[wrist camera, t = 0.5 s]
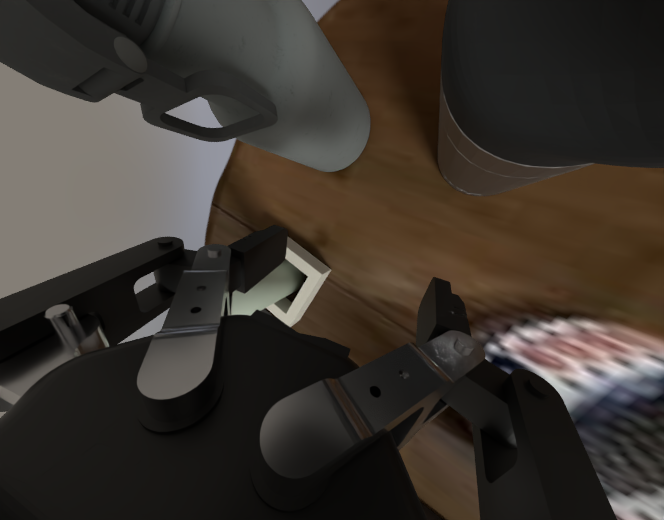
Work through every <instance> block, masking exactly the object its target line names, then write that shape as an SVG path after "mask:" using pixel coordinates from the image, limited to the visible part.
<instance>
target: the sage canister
mask: <svg viewBox="0 0 664 520" xmlns="http://www.w3.org/2000/svg"><path fill="white" fill-rule="evenodd" d="M303 282H304V273H303V272H302V271H300V270H299V269H298V268H297V267H295V266H294V265H293V264H292V263H290V262H289V261H288V260H284V261H283V263H282V264H281V265H279V266H278V267H277V268H276V269H275V270H273V271H272V272H271V273H270V274H268V275H267V276H266V277H265V278H264V279H262V280H261V281H260V282H259V283H258V284H256V285H255V286H254V287H253V288H251V289H250V290H249V291H248V292H247V293H245V294H244V293H241V292H239V291H236V290H235V291H234V292H233V305H232V315H250V316H251V315H252V314H253V313H254V312H255V311H256V310H259V311H261V310H263V309H264V308H266V307H268V306H270V305H272V304H273V303H275V302H277V301H279V300H281V299H282V298H284V297H286V296H288V295H290V294H291V293H293V292H295V291H297V290H299V289H300V288H301V287H302V285H303Z"/></svg>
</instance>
